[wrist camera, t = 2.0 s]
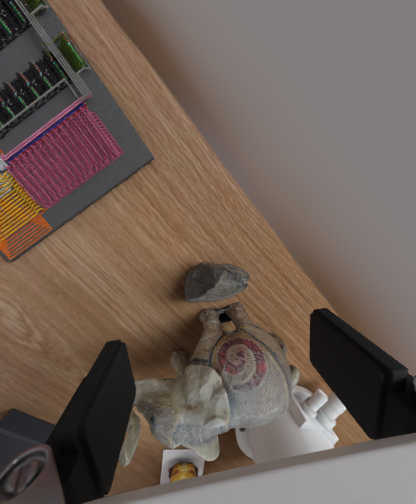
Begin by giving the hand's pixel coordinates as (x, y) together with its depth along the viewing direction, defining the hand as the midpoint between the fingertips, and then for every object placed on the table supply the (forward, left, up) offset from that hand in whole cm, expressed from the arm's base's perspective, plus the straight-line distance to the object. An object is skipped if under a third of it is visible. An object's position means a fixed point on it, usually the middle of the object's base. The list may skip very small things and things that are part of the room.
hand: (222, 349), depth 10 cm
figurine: (+5, +7, -15) cm, 17 cm away
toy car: (+27, +16, -13) cm, 34 cm away
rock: (-1, +1, -14) cm, 14 cm away
